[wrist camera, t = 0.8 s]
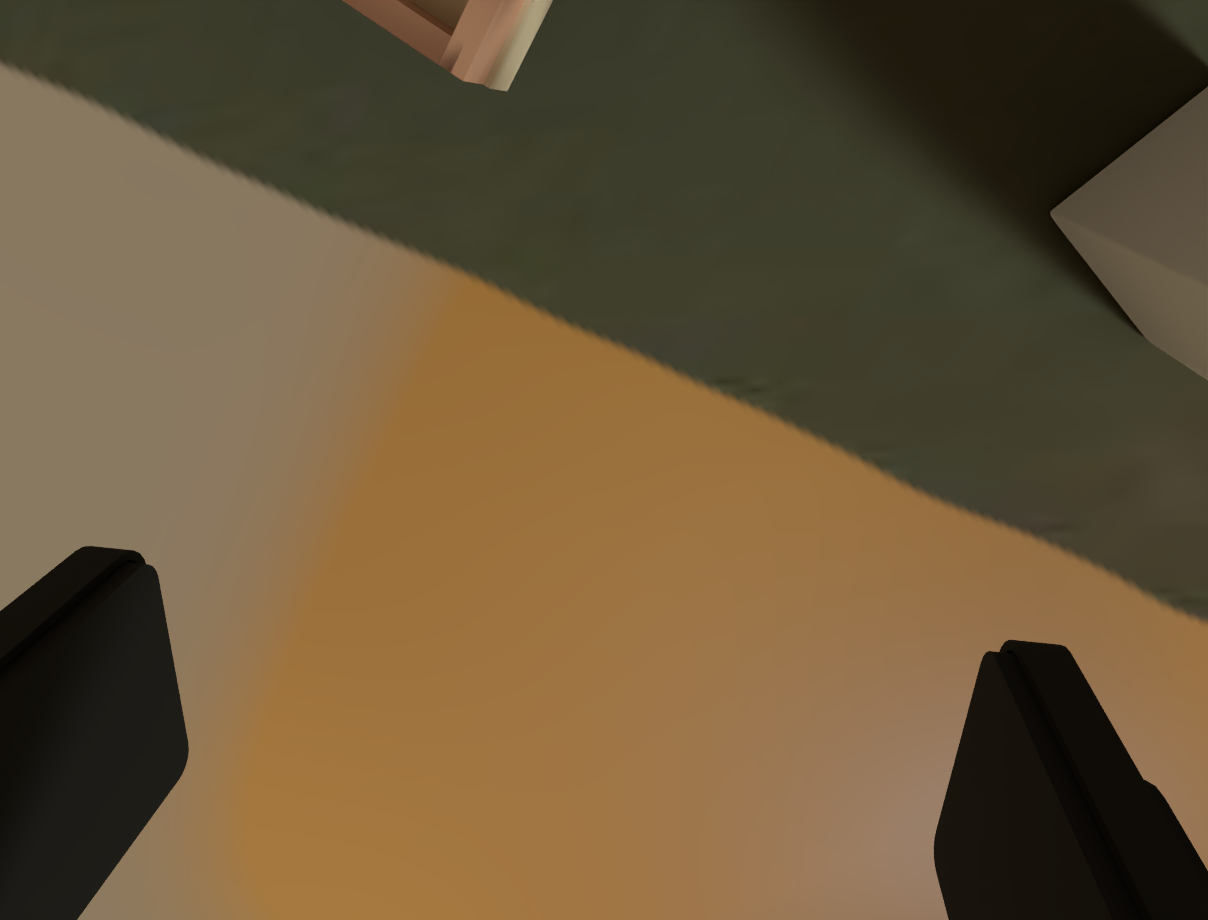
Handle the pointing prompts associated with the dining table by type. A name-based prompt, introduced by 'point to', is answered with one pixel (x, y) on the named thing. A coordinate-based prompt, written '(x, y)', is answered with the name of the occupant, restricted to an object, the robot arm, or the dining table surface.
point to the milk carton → (1153, 232)
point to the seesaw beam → (464, 33)
